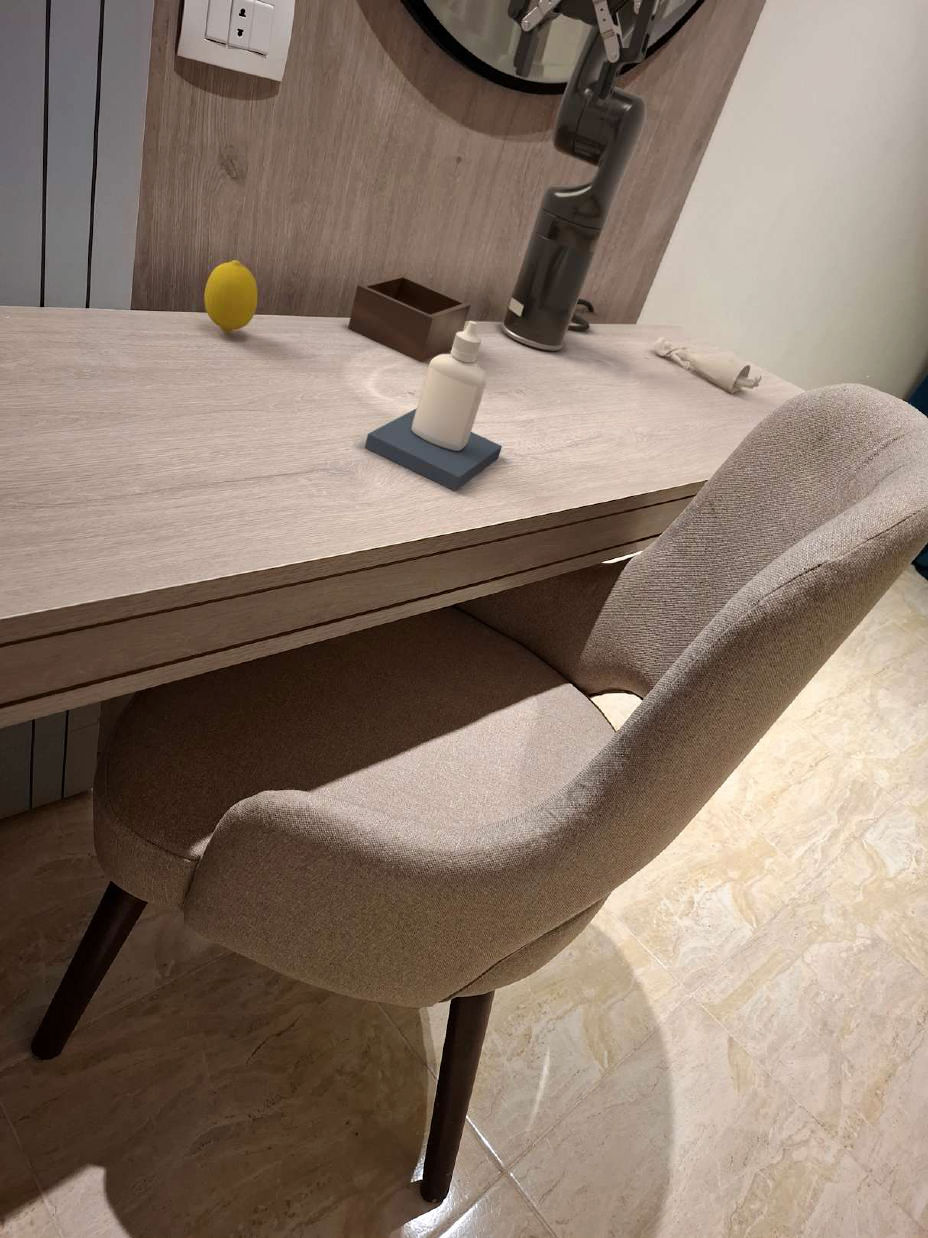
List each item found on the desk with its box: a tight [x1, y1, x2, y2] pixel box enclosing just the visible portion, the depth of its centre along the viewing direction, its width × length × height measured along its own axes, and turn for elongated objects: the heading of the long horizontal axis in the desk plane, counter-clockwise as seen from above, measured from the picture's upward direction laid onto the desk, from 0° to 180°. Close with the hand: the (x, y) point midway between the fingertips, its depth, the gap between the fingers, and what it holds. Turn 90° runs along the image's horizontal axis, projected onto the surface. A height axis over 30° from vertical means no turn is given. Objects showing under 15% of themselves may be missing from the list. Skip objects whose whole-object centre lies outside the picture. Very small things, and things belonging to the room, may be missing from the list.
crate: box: [347, 274, 471, 362], centre depth 115 cm, size 12×11×6 cm
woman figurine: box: [653, 336, 762, 394], centre depth 143 cm, size 12×4×18 cm
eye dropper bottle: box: [412, 320, 488, 451], centre depth 86 cm, size 4×6×12 cm
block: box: [364, 407, 503, 492], centre depth 90 cm, size 11×10×2 cm
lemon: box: [203, 259, 259, 334], centre depth 98 cm, size 6×6×8 cm
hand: (558, 89), depth 92 cm, fingers open, 8 cm apart
